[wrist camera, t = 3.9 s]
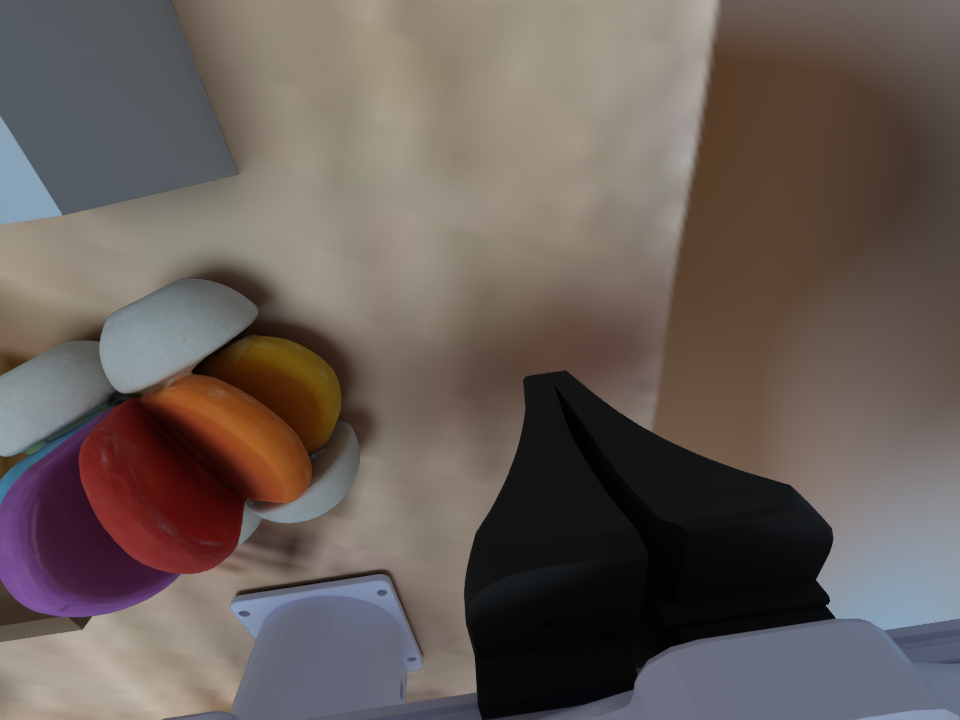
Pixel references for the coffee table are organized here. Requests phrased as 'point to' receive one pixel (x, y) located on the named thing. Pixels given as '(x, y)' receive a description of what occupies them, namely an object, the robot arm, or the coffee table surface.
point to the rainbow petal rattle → (161, 450)
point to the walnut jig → (31, 620)
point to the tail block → (99, 107)
